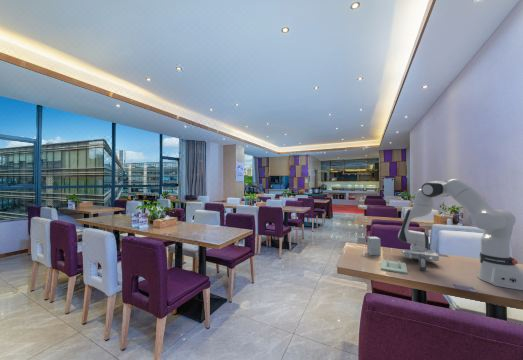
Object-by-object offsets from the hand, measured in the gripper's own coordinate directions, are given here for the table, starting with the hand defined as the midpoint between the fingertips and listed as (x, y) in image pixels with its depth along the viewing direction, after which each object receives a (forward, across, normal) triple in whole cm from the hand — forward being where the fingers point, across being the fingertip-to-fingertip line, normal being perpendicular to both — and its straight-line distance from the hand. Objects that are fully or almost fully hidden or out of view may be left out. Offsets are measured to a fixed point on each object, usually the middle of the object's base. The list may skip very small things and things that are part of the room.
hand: (421, 258), depth 145 cm
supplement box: (-13, -28, +5) cm, 31 cm away
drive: (+6, 0, +5) cm, 8 cm away
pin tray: (+11, -16, +5) cm, 20 cm away
